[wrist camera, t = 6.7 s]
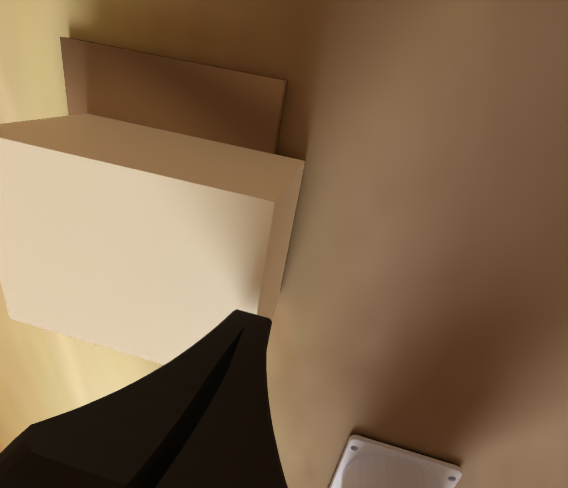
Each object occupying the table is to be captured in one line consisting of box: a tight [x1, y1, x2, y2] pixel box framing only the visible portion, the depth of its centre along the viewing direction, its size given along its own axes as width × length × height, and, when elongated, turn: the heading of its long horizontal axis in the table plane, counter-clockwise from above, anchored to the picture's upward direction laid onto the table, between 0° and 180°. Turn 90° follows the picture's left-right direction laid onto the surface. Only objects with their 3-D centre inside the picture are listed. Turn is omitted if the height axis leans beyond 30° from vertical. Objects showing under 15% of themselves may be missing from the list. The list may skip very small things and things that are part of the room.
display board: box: [60, 37, 287, 154], centre depth 20 cm, size 16×12×1 cm
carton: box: [0, 114, 305, 365], centre depth 17 cm, size 9×6×12 cm
